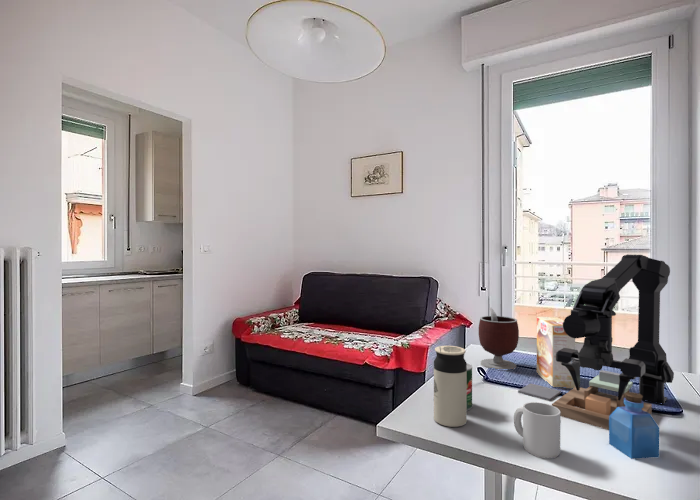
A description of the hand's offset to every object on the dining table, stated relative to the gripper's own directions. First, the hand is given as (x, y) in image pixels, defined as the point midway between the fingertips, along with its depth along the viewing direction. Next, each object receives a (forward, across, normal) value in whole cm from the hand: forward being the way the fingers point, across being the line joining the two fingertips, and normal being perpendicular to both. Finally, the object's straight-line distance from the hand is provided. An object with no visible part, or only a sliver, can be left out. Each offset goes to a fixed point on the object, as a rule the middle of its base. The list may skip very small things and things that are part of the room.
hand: (598, 394), depth 101 cm
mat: (+6, -17, +7) cm, 19 cm away
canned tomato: (+6, -29, -19) cm, 35 cm away
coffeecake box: (+6, -18, +22) cm, 29 cm away
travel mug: (+6, -25, -29) cm, 39 cm away
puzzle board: (+6, 0, +3) cm, 7 cm away
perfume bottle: (+6, +10, -13) cm, 18 cm away
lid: (0, 0, +12) cm, 12 cm away
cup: (+6, -5, -27) cm, 28 cm away
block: (+6, 0, 0) cm, 6 cm away
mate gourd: (+6, -39, +25) cm, 47 cm away
